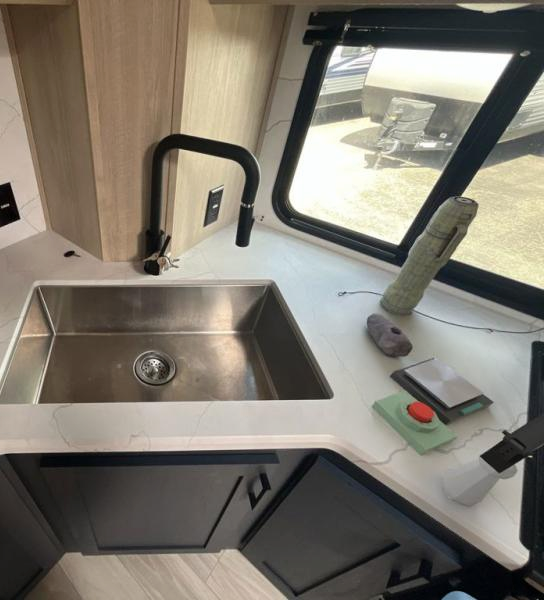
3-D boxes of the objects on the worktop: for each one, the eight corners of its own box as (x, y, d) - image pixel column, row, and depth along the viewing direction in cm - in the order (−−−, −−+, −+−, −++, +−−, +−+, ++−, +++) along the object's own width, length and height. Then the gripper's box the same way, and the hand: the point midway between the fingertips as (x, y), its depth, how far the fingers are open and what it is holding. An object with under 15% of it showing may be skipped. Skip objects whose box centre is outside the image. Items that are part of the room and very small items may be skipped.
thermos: (391, 318, 98) (464, 209, 76) (371, 294, 107) (431, 191, 85) (421, 319, 98) (502, 210, 76) (398, 295, 107) (465, 191, 85)
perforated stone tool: (357, 323, 96) (367, 305, 92) (374, 323, 96) (385, 305, 92) (385, 362, 85) (398, 344, 80) (405, 362, 85) (419, 344, 80)
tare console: (451, 441, 68) (463, 431, 66) (420, 455, 66) (431, 446, 63) (400, 395, 77) (408, 385, 74) (371, 406, 75) (379, 396, 72)
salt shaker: (428, 474, 63) (471, 442, 55) (458, 475, 63) (505, 443, 55) (449, 508, 58) (499, 478, 50) (481, 509, 58) (537, 479, 50)
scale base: (488, 407, 75) (496, 400, 73) (445, 425, 71) (452, 419, 69) (429, 362, 85) (435, 355, 83) (389, 376, 81) (394, 370, 80)
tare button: (434, 419, 68) (438, 415, 67) (420, 425, 67) (425, 420, 66) (416, 403, 71) (420, 399, 70) (402, 409, 70) (407, 404, 69)
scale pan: (481, 395, 74) (484, 393, 73) (448, 409, 71) (450, 407, 71) (434, 360, 82) (436, 358, 81) (402, 371, 79) (404, 369, 79)
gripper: (664, 316, 42) (537, 407, 56) (549, 363, 36) (438, 452, 50) (763, 357, 37) (595, 448, 51) (647, 420, 31) (492, 504, 45)
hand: (517, 450), depth 50 cm, fingers open, 12 cm apart
